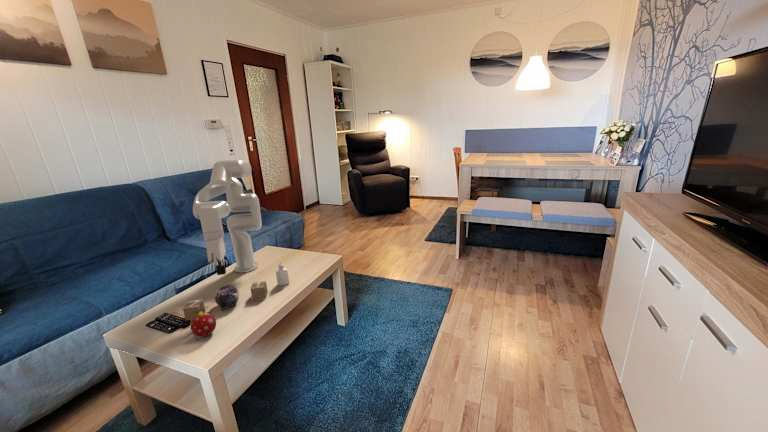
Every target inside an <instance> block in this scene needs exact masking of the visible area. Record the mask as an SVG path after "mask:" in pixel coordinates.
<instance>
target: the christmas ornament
mask: <svg viewBox="0 0 768 432" xmlns="http://www.w3.org/2000/svg"><path fill="white" fill-rule="evenodd" d="M216 325H217V320H216V318H215V316H213V315H212V314H211V313H207V312H205V313H202V312H199V315H198V316H196V317H195V318H194V319H193V320H191V322H190V331H191V333H192V334H193V335H194V336H196V337H197V338H198V337H199V338H200V337H201V338H202V337H203V338H205V337H207V336H209V335H211V334H212V333H213V332H214V331H215V329H216Z"/></svg>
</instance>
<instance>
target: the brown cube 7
mask: <svg viewBox="0 0 768 432" xmlns="http://www.w3.org/2000/svg"><path fill="white" fill-rule="evenodd" d="M182 311H183V316H184V319H187V320H190V321H191V322H192V321H193V319H194V318H195V317H196V316H198V315H199V312H202V313H206V311H207V310H206V306H205V301H204V299H203V298H202V299H195V300H188V301H186V302H185V304H184V306H183V307H182ZM190 321H189V322H190Z"/></svg>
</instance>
